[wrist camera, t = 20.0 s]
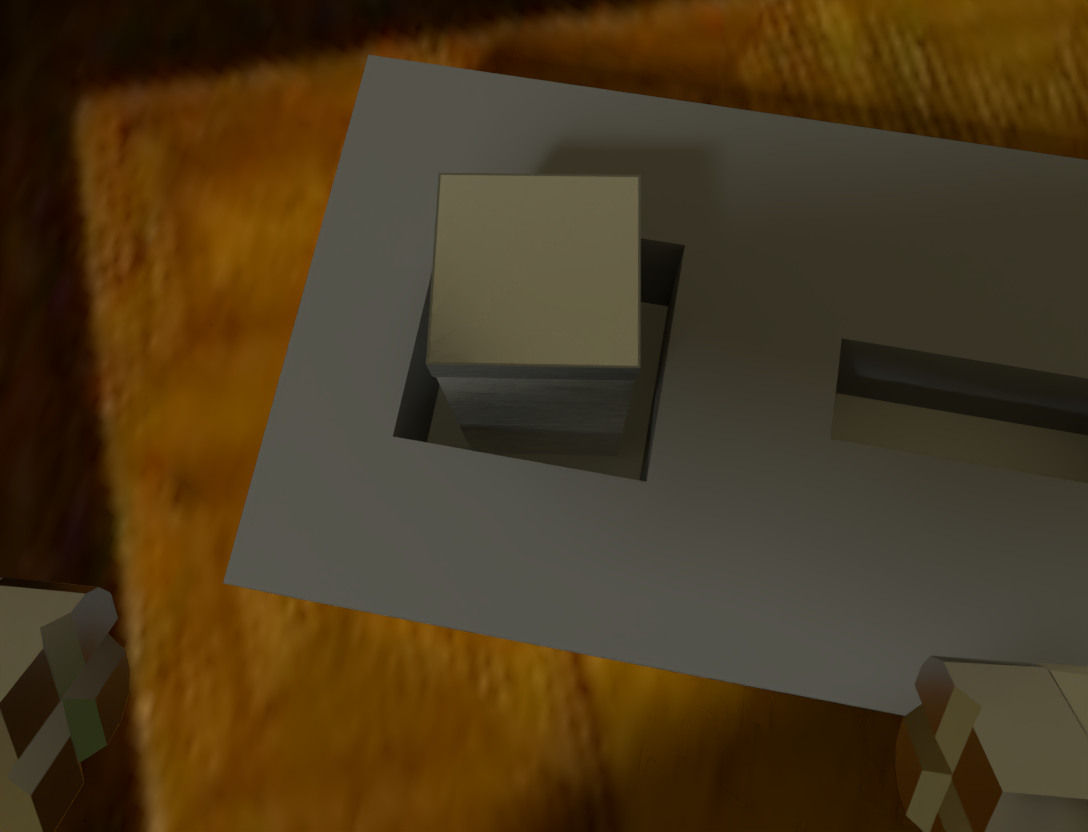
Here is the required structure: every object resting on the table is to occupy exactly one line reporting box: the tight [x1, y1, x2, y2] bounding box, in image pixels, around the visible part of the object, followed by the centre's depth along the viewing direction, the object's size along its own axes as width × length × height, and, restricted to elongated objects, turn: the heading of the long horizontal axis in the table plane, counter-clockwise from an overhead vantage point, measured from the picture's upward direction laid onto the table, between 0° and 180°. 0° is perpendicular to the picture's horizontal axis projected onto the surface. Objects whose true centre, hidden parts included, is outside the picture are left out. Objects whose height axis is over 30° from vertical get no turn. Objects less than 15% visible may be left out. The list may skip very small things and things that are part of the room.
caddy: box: [223, 55, 1088, 716], centre depth 23 cm, size 14×24×5 cm, turn 79°
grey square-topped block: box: [426, 173, 641, 456], centre depth 21 cm, size 4×4×8 cm
